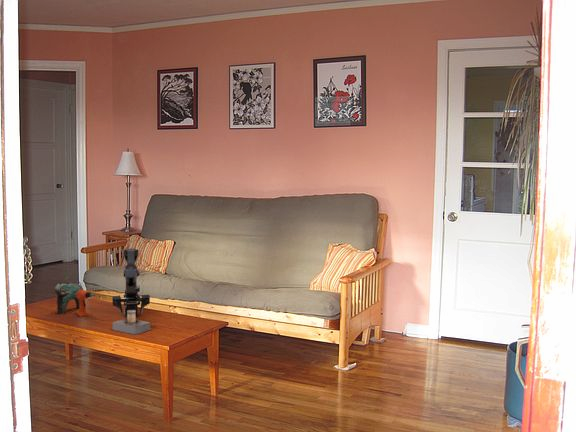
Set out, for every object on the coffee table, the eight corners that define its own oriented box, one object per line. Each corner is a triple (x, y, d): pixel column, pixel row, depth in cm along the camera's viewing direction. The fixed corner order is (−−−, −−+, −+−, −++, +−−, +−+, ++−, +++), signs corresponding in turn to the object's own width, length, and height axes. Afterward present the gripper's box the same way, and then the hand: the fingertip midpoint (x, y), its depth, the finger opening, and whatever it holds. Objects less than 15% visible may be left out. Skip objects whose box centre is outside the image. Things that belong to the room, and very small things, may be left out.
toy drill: (92, 318, 327) (90, 290, 327) (75, 316, 340) (73, 289, 340) (100, 316, 331) (98, 289, 331) (83, 314, 343) (81, 288, 343)
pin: (137, 329, 312) (136, 309, 311) (134, 331, 307) (134, 311, 307) (129, 328, 312) (128, 309, 311) (126, 330, 308) (125, 311, 307)
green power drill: (61, 315, 339) (60, 279, 337) (52, 313, 342) (51, 278, 340) (86, 307, 357) (86, 274, 355) (78, 306, 360) (77, 273, 358)
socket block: (127, 325, 318) (127, 318, 318) (150, 330, 310) (150, 322, 310) (112, 329, 309) (112, 322, 309) (135, 334, 301) (135, 326, 301)
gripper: (112, 280, 311) (111, 306, 301) (149, 279, 316) (150, 304, 306) (112, 292, 319) (112, 318, 310) (149, 291, 324) (149, 316, 314)
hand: (131, 314), depth 310 cm, fingers open, 9 cm apart
